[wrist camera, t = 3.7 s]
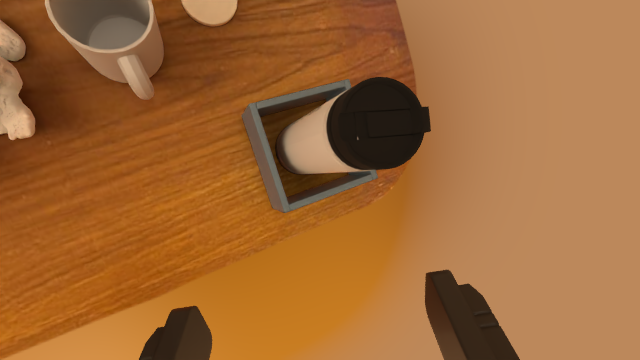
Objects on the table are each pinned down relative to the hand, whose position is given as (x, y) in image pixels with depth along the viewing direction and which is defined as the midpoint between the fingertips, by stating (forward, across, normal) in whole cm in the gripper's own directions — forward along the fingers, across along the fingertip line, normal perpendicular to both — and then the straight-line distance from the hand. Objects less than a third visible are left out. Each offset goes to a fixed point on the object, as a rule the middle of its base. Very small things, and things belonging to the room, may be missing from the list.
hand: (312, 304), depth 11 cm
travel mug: (+29, +2, +8) cm, 30 cm away
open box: (+29, +2, +8) cm, 30 cm away
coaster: (+35, +9, -9) cm, 37 cm away
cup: (+29, +17, -5) cm, 34 cm away
